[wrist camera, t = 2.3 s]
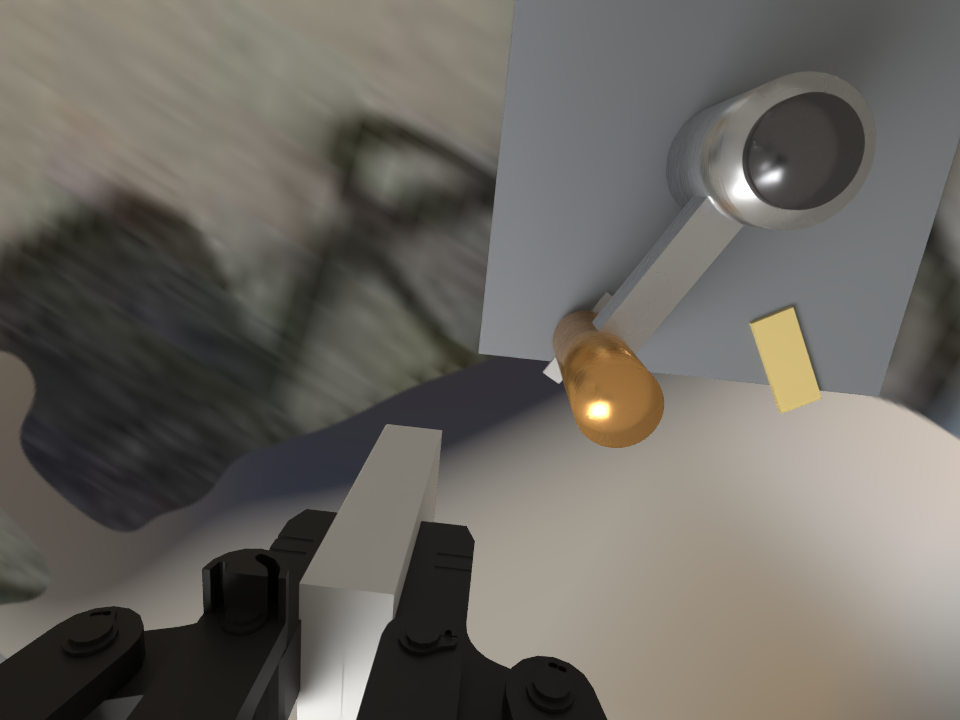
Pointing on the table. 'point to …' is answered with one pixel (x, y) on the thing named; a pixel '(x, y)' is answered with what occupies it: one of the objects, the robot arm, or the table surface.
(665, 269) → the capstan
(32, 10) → the table surface
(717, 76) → the base plate
